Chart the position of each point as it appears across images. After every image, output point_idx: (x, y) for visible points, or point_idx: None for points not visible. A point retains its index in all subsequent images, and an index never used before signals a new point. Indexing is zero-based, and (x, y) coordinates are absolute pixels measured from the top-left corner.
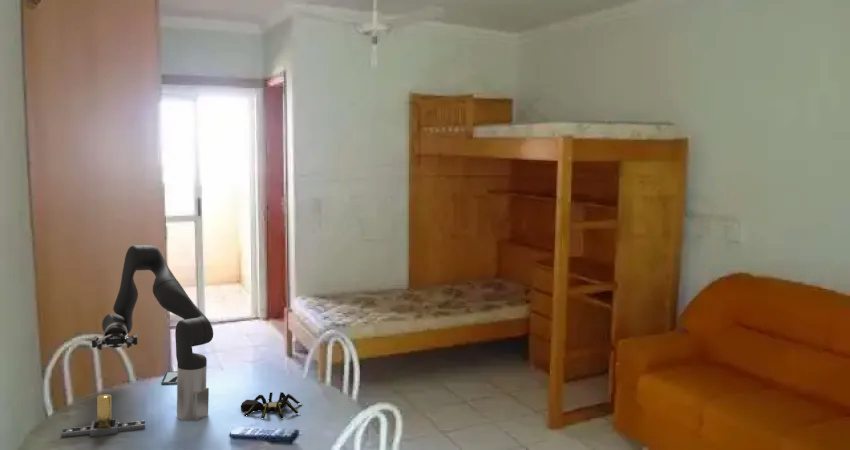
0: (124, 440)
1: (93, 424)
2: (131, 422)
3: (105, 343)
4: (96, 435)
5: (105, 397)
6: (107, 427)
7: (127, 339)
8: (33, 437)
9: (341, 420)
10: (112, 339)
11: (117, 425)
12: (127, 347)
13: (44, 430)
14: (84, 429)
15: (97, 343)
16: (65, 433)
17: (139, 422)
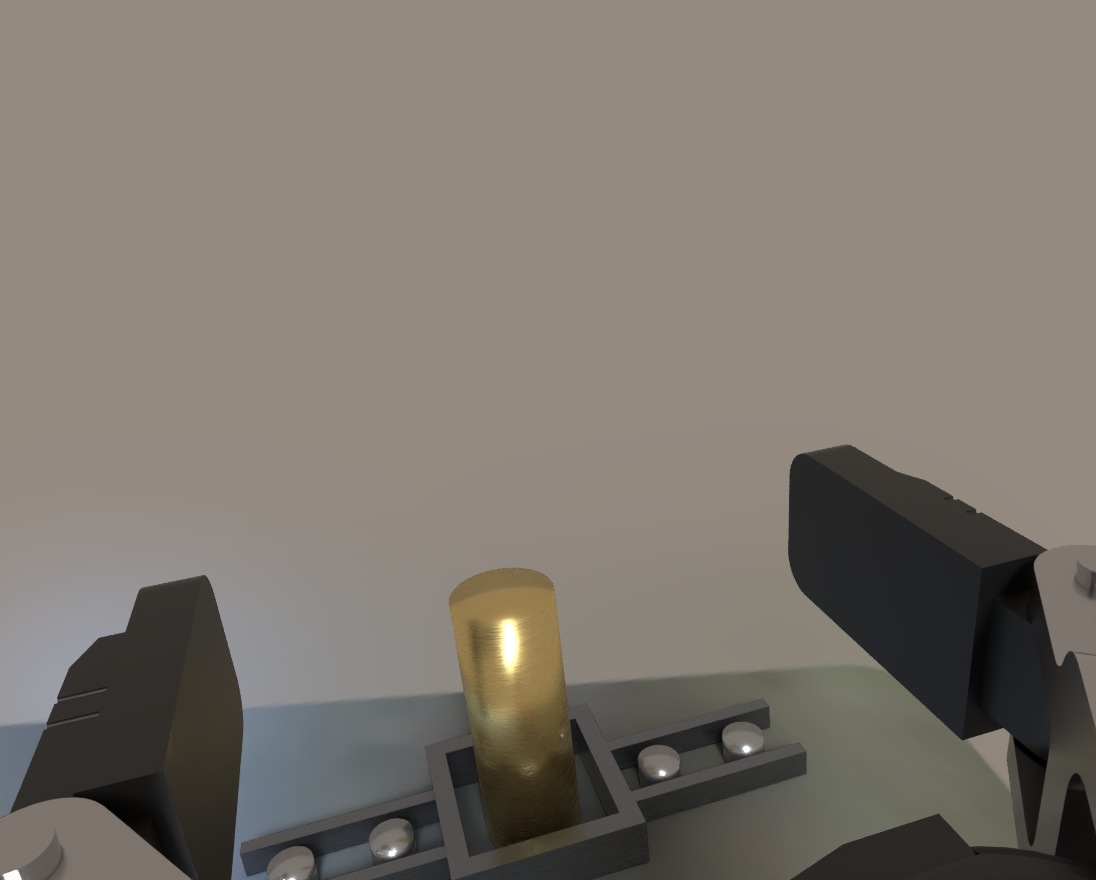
0: (374, 716)
1: (604, 772)
2: (344, 876)
3: (1036, 851)
4: None
5: (486, 582)
6: None
7: (157, 748)
8: None
9: None
10: (847, 873)
11: (430, 769)
12: (231, 695)
13: (962, 789)
14: (648, 750)
15: (984, 517)
16: (741, 707)
17: (282, 875)
